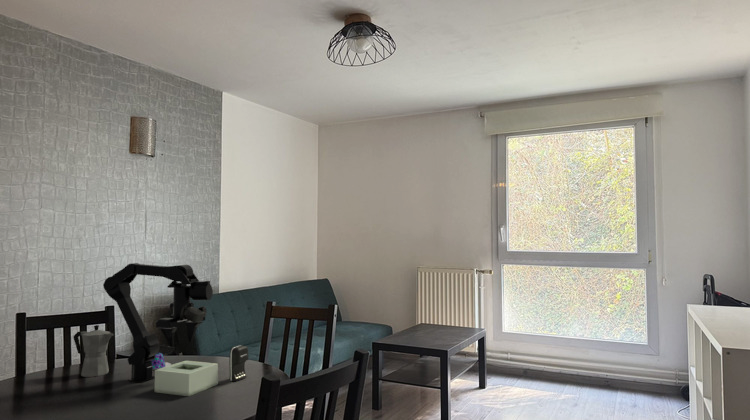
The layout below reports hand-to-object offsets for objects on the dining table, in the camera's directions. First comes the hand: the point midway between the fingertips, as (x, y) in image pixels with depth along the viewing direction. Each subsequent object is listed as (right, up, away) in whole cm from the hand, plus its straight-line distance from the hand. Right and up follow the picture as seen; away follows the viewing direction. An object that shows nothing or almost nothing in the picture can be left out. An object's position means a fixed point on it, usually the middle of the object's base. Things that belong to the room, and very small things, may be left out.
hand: (181, 344), depth 177 cm
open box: (+6, -12, -10) cm, 17 cm away
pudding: (-18, -14, +19) cm, 30 cm away
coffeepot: (-37, -14, +9) cm, 40 cm away
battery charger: (+21, -13, 0) cm, 24 cm away
